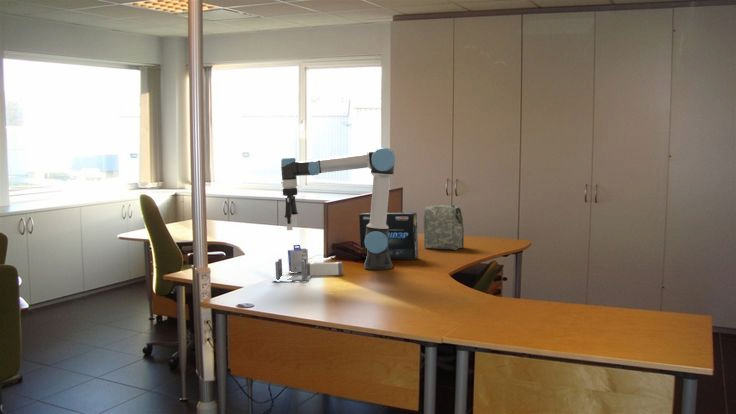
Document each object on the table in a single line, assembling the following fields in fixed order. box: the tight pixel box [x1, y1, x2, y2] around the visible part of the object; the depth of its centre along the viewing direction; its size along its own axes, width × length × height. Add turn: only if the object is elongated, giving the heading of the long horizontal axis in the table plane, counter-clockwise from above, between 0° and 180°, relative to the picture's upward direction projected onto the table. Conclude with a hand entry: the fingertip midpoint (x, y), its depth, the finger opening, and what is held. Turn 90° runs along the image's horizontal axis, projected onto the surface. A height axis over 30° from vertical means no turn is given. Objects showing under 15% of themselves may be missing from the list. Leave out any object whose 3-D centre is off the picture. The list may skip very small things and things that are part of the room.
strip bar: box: [307, 261, 343, 276], centre depth 355 cm, size 18×4×6 cm, turn 86°
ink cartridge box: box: [287, 244, 309, 272], centre depth 363 cm, size 10×6×14 cm, turn 114°
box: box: [358, 212, 419, 261], centre depth 396 cm, size 33×8×27 cm, turn 68°
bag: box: [422, 204, 465, 251], centre depth 428 cm, size 22×16×27 cm
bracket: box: [274, 258, 312, 282], centre depth 344 cm, size 18×12×10 cm, turn 86°
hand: (292, 228), depth 356 cm, fingers open, 13 cm apart
